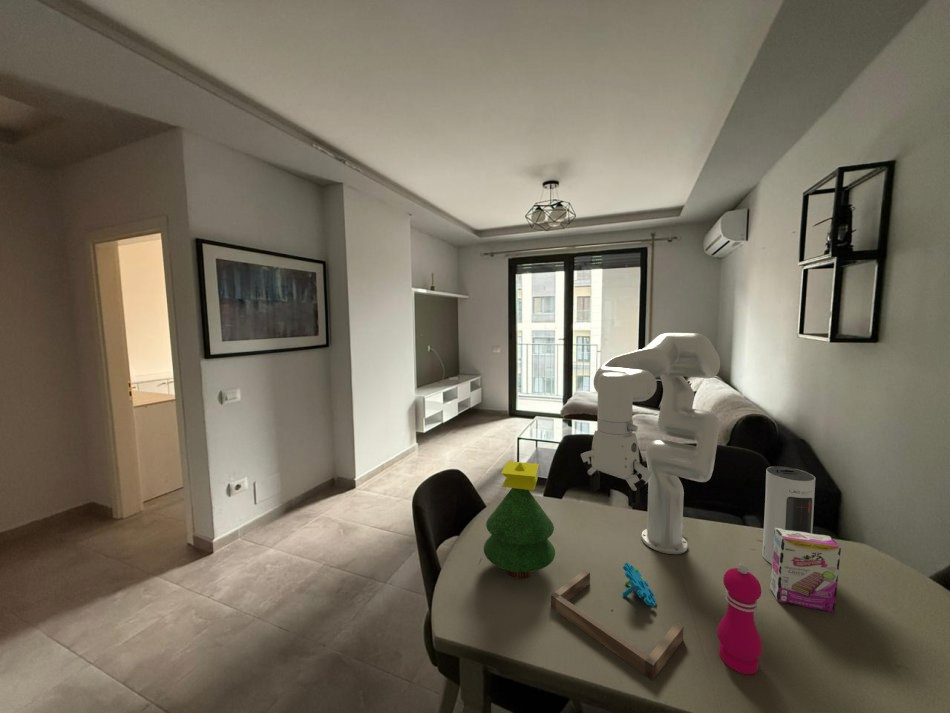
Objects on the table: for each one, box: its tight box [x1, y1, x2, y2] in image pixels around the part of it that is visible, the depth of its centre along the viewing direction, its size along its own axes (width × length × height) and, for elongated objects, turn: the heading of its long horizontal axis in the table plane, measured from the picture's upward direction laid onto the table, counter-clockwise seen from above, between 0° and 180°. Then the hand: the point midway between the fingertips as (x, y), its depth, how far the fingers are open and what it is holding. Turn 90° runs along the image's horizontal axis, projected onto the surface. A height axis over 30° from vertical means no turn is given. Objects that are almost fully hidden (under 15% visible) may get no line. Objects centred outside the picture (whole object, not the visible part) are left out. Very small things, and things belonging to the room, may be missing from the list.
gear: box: [621, 562, 657, 608], centre depth 91 cm, size 11×6×10 cm
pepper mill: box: [716, 563, 763, 675], centre depth 73 cm, size 7×7×20 cm
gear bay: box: [550, 569, 685, 681], centre depth 83 cm, size 14×24×3 cm, turn 40°
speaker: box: [761, 465, 816, 565], centre depth 103 cm, size 11×10×26 cm
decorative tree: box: [483, 460, 556, 580], centre depth 100 cm, size 19×19×30 cm
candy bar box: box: [769, 528, 842, 613], centre depth 88 cm, size 11×5×16 cm, turn 71°
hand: (613, 497), depth 87 cm, fingers open, 9 cm apart
